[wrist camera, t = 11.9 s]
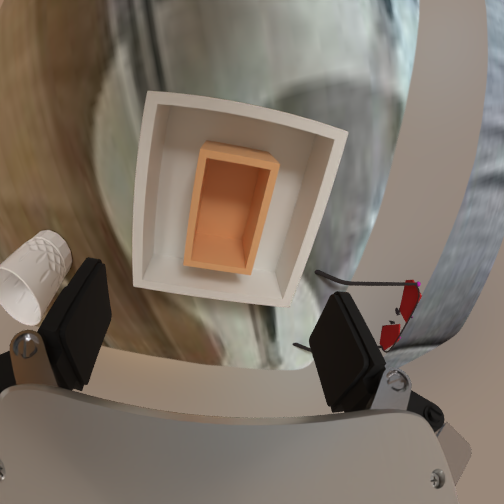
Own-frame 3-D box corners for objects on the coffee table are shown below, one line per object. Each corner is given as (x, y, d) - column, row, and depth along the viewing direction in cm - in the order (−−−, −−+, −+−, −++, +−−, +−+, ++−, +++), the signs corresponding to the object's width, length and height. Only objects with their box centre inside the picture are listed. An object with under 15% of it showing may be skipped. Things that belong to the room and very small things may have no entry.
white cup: (85, 269, 30) (53, 321, 22) (49, 281, 31) (18, 328, 22) (58, 216, 26) (12, 259, 18) (24, 235, 27) (-18, 276, 18)
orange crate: (206, 140, 24) (199, 148, 18) (268, 152, 25) (280, 164, 19) (190, 234, 28) (183, 265, 23) (246, 243, 29) (250, 275, 24)
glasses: (380, 337, 42) (391, 358, 38) (292, 343, 40) (298, 368, 36) (412, 271, 36) (429, 291, 31) (314, 267, 33) (326, 292, 29)
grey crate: (164, 94, 22) (147, 90, 16) (324, 126, 25) (348, 131, 19) (146, 255, 30) (133, 286, 25) (279, 275, 33) (289, 307, 28)
